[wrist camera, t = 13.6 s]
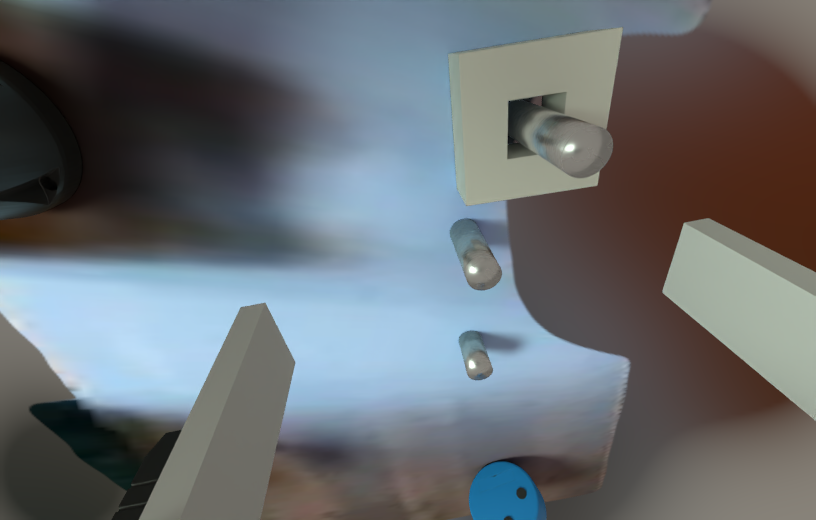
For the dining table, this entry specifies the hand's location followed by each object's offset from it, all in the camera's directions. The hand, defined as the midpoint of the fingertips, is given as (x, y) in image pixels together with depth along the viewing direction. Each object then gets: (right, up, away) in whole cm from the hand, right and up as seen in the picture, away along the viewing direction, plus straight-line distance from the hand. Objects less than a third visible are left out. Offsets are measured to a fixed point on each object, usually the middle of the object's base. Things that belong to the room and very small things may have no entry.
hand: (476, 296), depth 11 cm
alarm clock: (+16, -41, +59) cm, 74 cm away
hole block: (+9, +16, +23) cm, 29 cm away
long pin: (+9, +16, +23) cm, 29 cm away
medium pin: (+4, +5, +30) cm, 31 cm away
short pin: (+7, -11, +39) cm, 41 cm away
